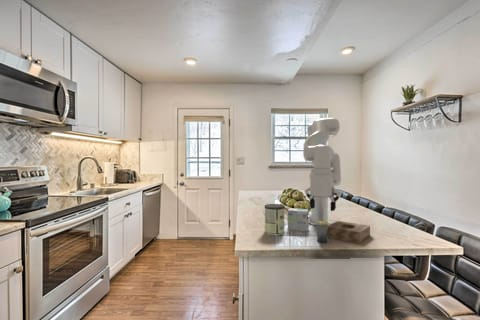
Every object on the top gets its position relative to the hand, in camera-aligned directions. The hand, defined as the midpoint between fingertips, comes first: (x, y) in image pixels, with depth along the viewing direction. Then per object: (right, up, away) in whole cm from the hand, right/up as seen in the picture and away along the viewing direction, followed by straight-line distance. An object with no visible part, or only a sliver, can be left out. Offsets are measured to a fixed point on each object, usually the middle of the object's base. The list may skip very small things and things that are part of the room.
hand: (322, 209), depth 122 cm
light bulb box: (-6, -15, +22) cm, 28 cm away
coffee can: (-20, -15, +16) cm, 29 cm away
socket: (+15, -15, +9) cm, 23 cm away
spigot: (0, -15, +1) cm, 15 cm away
